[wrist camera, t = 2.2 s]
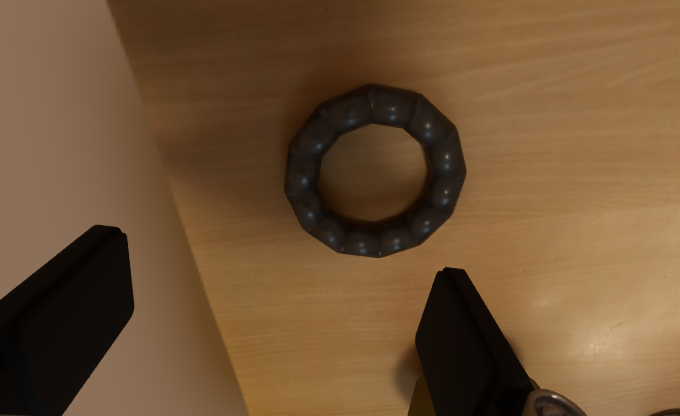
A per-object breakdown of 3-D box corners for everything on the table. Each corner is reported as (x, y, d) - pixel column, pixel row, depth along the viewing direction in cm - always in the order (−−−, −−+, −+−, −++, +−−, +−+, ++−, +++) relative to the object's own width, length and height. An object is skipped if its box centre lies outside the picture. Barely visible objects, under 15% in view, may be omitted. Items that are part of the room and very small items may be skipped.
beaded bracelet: (297, 70, 17) (294, 73, 16) (481, 101, 18) (496, 108, 17) (279, 235, 22) (276, 251, 20) (430, 254, 23) (438, 271, 21)
